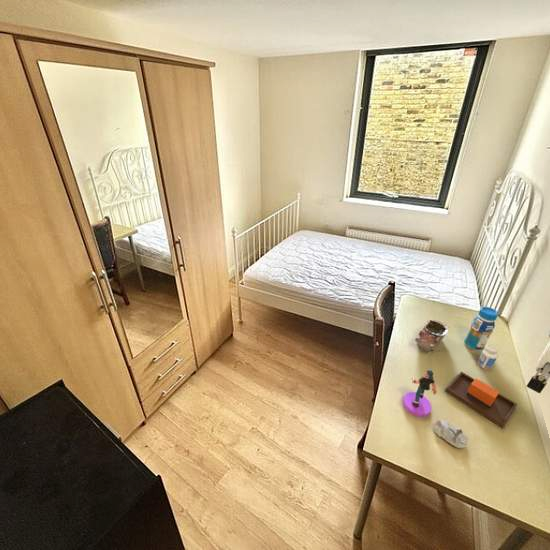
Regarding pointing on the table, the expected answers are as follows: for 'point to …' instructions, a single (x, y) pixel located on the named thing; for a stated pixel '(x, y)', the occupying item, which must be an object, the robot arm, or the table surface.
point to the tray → (495, 413)
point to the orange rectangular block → (482, 393)
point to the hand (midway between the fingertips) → (537, 381)
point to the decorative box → (431, 335)
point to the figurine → (420, 396)
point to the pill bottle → (488, 357)
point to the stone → (451, 434)
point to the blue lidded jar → (481, 329)
